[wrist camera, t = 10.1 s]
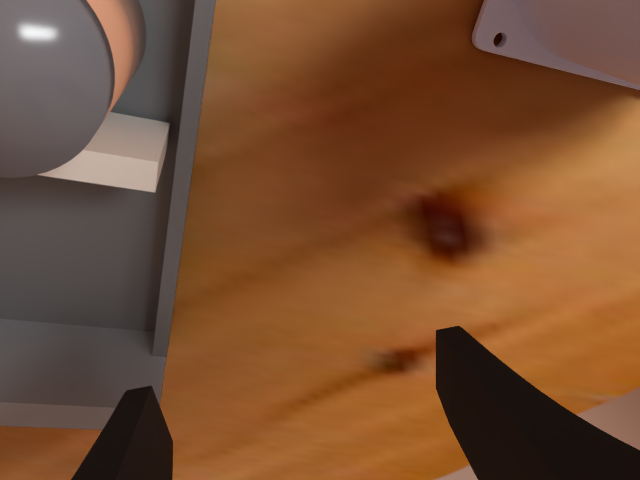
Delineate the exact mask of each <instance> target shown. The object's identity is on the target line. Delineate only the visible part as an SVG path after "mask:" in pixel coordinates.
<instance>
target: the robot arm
mask: <svg viewBox="0 0 640 480" xmlns="http://www.w3.org/2000/svg"><path fill="white" fill-rule="evenodd" d="M498 33H501V34H502V40H501V42H500V43H499V44H498V45H496V46H495V45H494V43H493V41H494V37H495V36H496V35H497V34H498ZM472 42H473V44H474V46H475V47H476V48H478V49H480V50H483V51H487V52H491V53H495V54H498V55H502V56H506V57H510V58H514V59H518V60H522V61H526V62H530V63H534V64H538V65H542V66H546V67H550V68H554V69H558V70H562V71H566V72H570V73H574V74H578V75H582V76H586V77H590V78H594V79H598V80H602V81H606V82H610V83H614V84H617V85H621V86H625V87H629V88H633V89H637V90H640V0H484V2H483V4H482V7H481V10H480V13H479V16H478V19H477V22H476V24H475V27H474V30H473V33H472ZM436 389H437V392H438V395H439V398H440V400H441V403H442V406H443V409H444V411H445V414H446V416H447V419H448V422H449V424H450V426H451V428H452V430H453V432H454V434H455V436H456V438H457V440H458V442H459V444H460V446H461V448H462V450H463V452H464V454H465V455H466V457H467V459H468V461H469V463H470V465H471V467H472V469H473V471H474V473H475V475H476V476H477V478H478V480H640V450H638V449H636V448H634V447H632V446H630V445H628V444H626V443H624V442H622V441H620V440H618V439H617V438H615V437H613V436H611V435H609V434H607V433H606V432H604V431H602V430H600V429H598V428H597V427H595V426H593V425H591V424H590V423H588V422H587V421H585V420H583V419H582V418H580V417H578V416H577V415H575V414H573V413H572V412H570V411H569V410H567V409H566V408H564V407H563V406H561V405H560V404H558V403H557V402H555V401H554V400H552V399H551V398H550V397H548V396H547V395H545V394H544V393H542V392H541V391H540V390H538V389H537V388H535V387H534V386H533V385H531V384H530V383H529V382H527V381H526V380H525V379H524V378H522V377H521V376H520V375H518V374H517V373H516V372H514V371H513V370H512V369H511V368H509V367H508V366H507V365H506V364H504V363H503V362H502V361H501V360H499V359H498V358H497V357H496V356H495V355H493V354H492V353H491V352H490V351H489V350H487V349H486V348H485V347H484V346H483V345H481V344H480V343H479V342H478V341H477V340H476V339H474V338H473V337H472V336H471V335H470V334H469V333H468V332H466V331H465V330H464V329H463V328H461V327H460V326H455V327H450V328H445V329H440V330H436ZM172 470H173V440H172V438H171V435H170V433H169V430H168V427H167V425H166V422H165V419H164V417H163V414H162V411H161V409H160V406H159V403H158V401H157V398H156V395H155V393H154V390H153V387H152V385H151V386H146V387H141V388H135V389H130V390H126V392H125V393H124V394H123V396H122V398H121V399H120V401H119V403H118V404H117V406H116V408H115V410H114V411H113V413H112V415H111V417H110V418H109V420H108V422H107V423H106V425H105V427H104V428H103V430H102V432H101V433H100V435H99V437H98V438H97V440H96V442H95V443H94V445H93V446H92V448H91V450H90V451H89V453H88V454H87V456H86V457H85V459H84V461H83V462H82V464H81V465H80V467H79V469H78V470H77V472H76V473H75V475H74V476H73V477H72V479H71V480H172Z"/></svg>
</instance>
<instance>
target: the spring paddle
mask: <svg viewBox="0 0 640 480" xmlns="http://www.w3.org/2000/svg"><path fill="white" fill-rule="evenodd" d="M169 129H170V123H168V122H162V121H157V120H151V119H146V118H140V117H135V116H130V115H124V114H119V113H113V112H109V114H108V115H107V117H106V118H105V120H104V121H103V123H102V124H101V126H100V127H99V129H98V130H97V132H96V133H95V135H94V136H93V138H92V139H91V141H90V142H89V144H88V145H87V146H86V147H85V148H84V149H83V150H82V151H81V152H80V153H79V154H78V155H77V156H75V157H74V158H73V159H72V160H70V161H69V162H67V163H65V164H64V165H62V166H60V167H58V168H56V169H53V170H51V171H48V172H45V173H41V174H38V175H41V176H48V177H54V178H61V179H68V180H74V181H81V182H88V183H95V184H101V185H108V186H115V187H121V188H128V189H135V190H141V191H148V192H155V191H156V188H157V184H158V180H159V177H160V173H161V170H162V166H163V162H164V159H165V155H166V152H167V147H168V138H169Z"/></svg>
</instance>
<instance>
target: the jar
mask: <svg viewBox="0 0 640 480" xmlns="http://www.w3.org/2000/svg"><path fill="white" fill-rule="evenodd" d="M145 47H146V24H145V19H144V15H143V11H142V8H141V5H140V3H139V0H0V177H3V178H17V177H27V176H34V175H38V174H41V173H45V172H48V171H51V170H53V169H56V168H58V167H60V166H62V165H64V164H65V163H67V162H69V161H70V160H72V159H73V158H74V157H75V156H77V155H78V154H79V153H80V152H81V151H82V150H83V149H84V148H85V147H86V146H87V145H88V144H89V142H90V141H91V139H92V138H93V136H94V135H95V133H96V132H97V130H98V129H99V127H100V126H101V124H102V123H103V121H104V120H105V118H106V117H107V115H108V114H109V112H110V111H111V109H112V108H113V106H114V105H115V103H116V102H117V100H118V99H119V97H120V96H121V94H122V93H123V91H124V90H125V88H126V87H127V85H128V84H129V82H130V81H131V79H132V78H133V76H134V75H135V73H136V72H137V70H138V69H139V67H140V64H141V62H142V60H143V56H144V53H145Z"/></svg>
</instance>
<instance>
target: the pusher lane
mask: <svg viewBox="0 0 640 480" xmlns="http://www.w3.org/2000/svg"><path fill="white" fill-rule="evenodd" d="M215 2H216V0H139V3H140V5H141V8H142V11H143V15H144V19H145V24H146V47H145V53H144V56H143V60H142V62H141V64H140V67H139V69H138V70H137V72H136V73H135V75H134V76H133V78H132V79H131V81H130V82H129V84H128V85H127V87H126V88H125V90H124V91H123V93H122V94H121V96H120V97H119V99H118V100H117V102H116V103H115V105H114V106H113V108H112V109H111V111H110V112H113V113H119V114H124V115H130V116H135V117H140V118H146V119H151V120H157V121H162V122H168V123H170V129H169V138H168V147H167V152H166V155H165V159H164V162H163V166H162V170H161V173H160V177H159V180H158V184H157V188H156V191H155V192H148V191H141V190H135V189H128V188H121V187H115V186H108V185H101V184H95V183H88V182H81V181H74V180H68V179H61V178H54V177H48V176H41V175H34V176H27V177H17V178H3V177H0V426H18V427H43V428H67V429H92V430H103V428H104V427H105V425H106V423H107V422H108V420H109V418H110V417H111V415H112V413H113V411H114V410H115V408H116V406H117V404H118V403H119V401H120V399H121V398H122V396H123V394H124V393H125V392H126V390H130V389H135V388H141V387H146V386H151V385H152V387H153V390H154V393H155V395H156V398H157V401H158V403H159V406H160V400H161V393H162V386H163V379H164V372H165V365H166V357H167V350H168V343H169V336H170V328H171V321H172V314H173V307H174V299H175V292H176V285H177V278H178V270H179V263H180V256H181V249H182V241H183V234H184V227H185V220H186V212H187V205H188V198H189V191H190V183H191V176H192V169H193V162H194V154H195V147H196V140H197V133H198V125H199V118H200V111H201V104H202V96H203V89H204V82H205V75H206V67H207V60H208V53H209V46H210V38H211V31H212V24H213V17H214V9H215Z"/></svg>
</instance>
